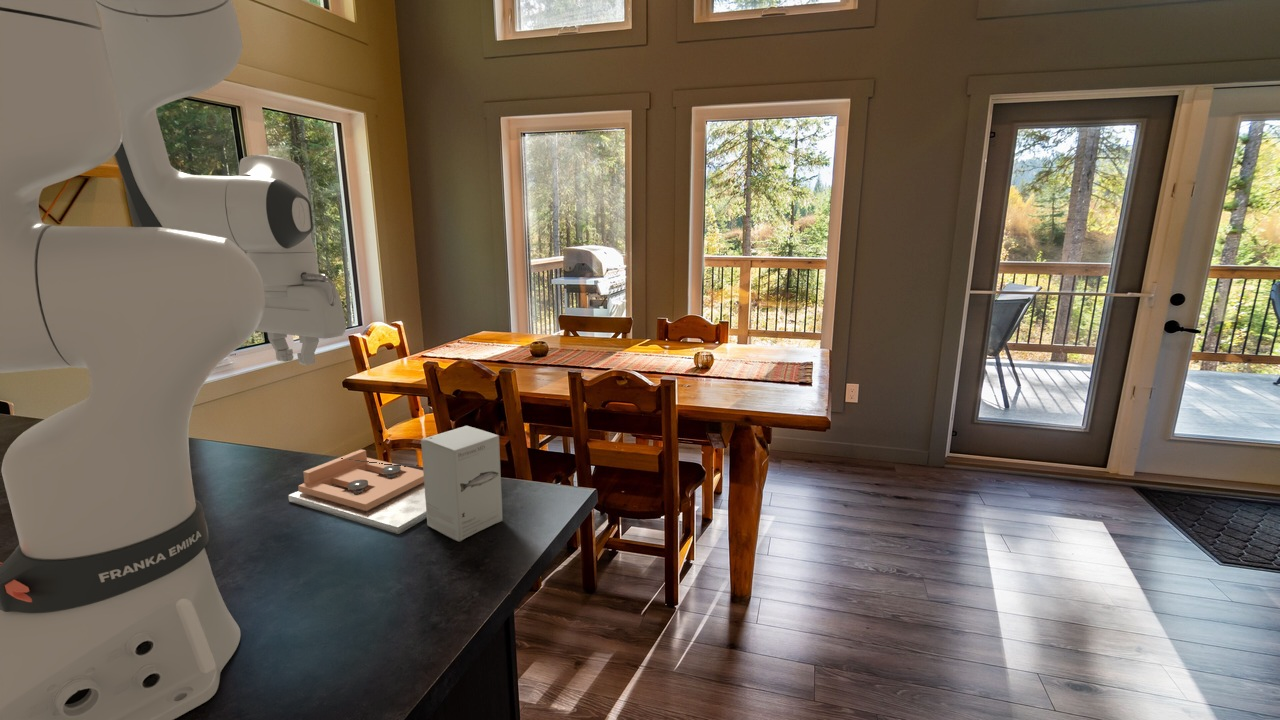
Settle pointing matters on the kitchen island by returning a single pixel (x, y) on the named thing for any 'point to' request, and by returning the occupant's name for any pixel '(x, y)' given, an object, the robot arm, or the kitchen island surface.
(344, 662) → the kitchen island surface
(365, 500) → the panel
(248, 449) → the kitchen island surface
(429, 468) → the supplement box
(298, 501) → the boss plate
